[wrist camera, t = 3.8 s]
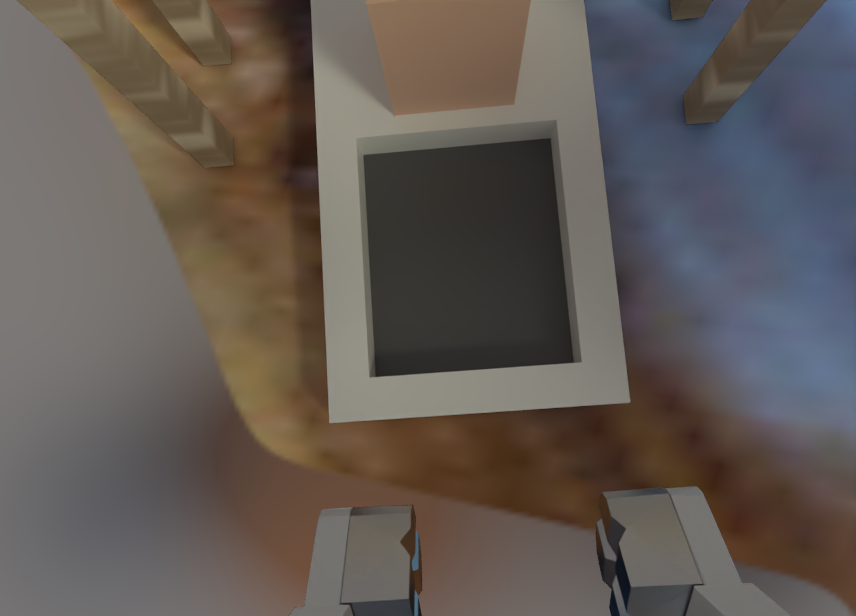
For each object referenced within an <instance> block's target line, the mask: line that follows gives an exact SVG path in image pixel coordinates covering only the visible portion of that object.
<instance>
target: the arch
mask: <svg viewBox="0 0 856 616" xmlns="http://www.w3.org/2000/svg"><path fill="white" fill-rule="evenodd" d="M17 1H18V2H20V3H21V4H22V5H23V6H24V7H25V8H26V9H27V10H29V11H30V12H31V13H32V14H33V15H34V16H35V17H36V18H37V19H39V20H40V21H41V22H42V23H43V24H44V25H45V26H46V27H48V28H49V29H50V30H51V31H52V32H53V33H54V34H55V35H57V36H58V37H59V38H60V39H61V40H62V41H63V42H64V43H66V44H67V45H68V46H69V47H70V48H71V49H72V50H73V51H75V52H76V53H77V54H78V55H79V56H80V57H81V58H82V59H84V60H85V61H86V62H87V63H88V64H89V65H90V66H91V67H92V68H94V69H95V70H96V71H97V72H98V73H99V74H100V75H101V76H103V77H104V78H105V79H106V80H107V81H108V82H109V83H110V84H112V85H113V86H114V87H115V88H116V89H117V90H118V91H119V92H121V93H122V94H123V95H124V96H125V97H126V98H127V99H128V100H130V101H131V102H132V103H133V104H134V105H135V106H136V107H137V108H139V109H140V110H141V111H142V112H143V113H144V114H145V115H146V116H148V117H149V118H150V119H151V120H152V121H153V122H154V123H155V124H157V125H158V126H159V127H160V128H161V129H162V130H163V131H164V132H166V133H167V134H168V135H169V136H170V137H171V138H172V139H173V140H175V141H176V142H177V143H178V144H179V145H180V146H181V147H182V148H184V149H185V150H186V151H187V152H188V153H189V154H190V155H191V156H193V157H194V158H195V159H196V160H197V161H198V162H199V163H200V164H202V165H203V166H204V167H205V168H209V167H220V166H231V165H234V152H233V137H232V136H231V135H230V133H229V132H228V131H227V130H226V129H225V128H224V127H223V126H222V124H221V123H220V122H219V121H218V120H217V119H216V118H215V117H214V115H213V114H212V113H211V112H210V111H209V110H208V109H207V108H206V106H205V105H204V104H203V103H202V102H201V101H200V100H199V99H198V97H197V96H196V95H195V94H194V93H193V92H192V91H191V90H190V88H189V87H188V86H187V85H186V84H185V83H184V82H183V81H182V79H181V78H180V77H179V76H178V75H177V74H176V73H175V72H174V70H173V69H172V68H171V67H170V66H169V65H168V64H167V63H166V61H165V60H164V59H163V58H162V57H161V56H160V55H159V54H158V52H157V51H156V50H155V49H154V48H153V47H152V46H151V45H150V43H149V42H148V41H147V40H146V39H145V38H144V37H143V36H142V34H141V33H140V32H139V31H138V30H137V29H136V28H135V27H134V25H133V24H132V23H131V22H130V21H129V20H128V19H127V18H126V16H125V15H124V14H123V13H122V12H121V11H120V10H119V9H118V7H117V6H116V5H115V4H114V3H113V2H112V1H111V0H17ZM152 1H153V3H154V4H155V5H156V7H157V8H158V9H159V10H160V12H161V13H162V14H163V15H164V17H165V18H166V19H167V20H168V22H169V23H170V24H171V26H172V27H173V28H174V29H175V31H176V32H177V33H178V34H179V36H180V37H181V38H182V40H183V41H184V42H185V43H186V45H187V46H188V47H189V48H190V50H191V51H192V52H193V53H194V55H195V56H196V57H197V59H198V60H199V61H200V62H201V64H202V65H203V66H212V65H222V64H231V37H230V35H229V34H228V32H227V31H226V29H225V28H224V26H223V25H222V23H221V21H220V20H219V18H218V17H217V15H216V14H215V12H214V11H213V9H212V8H211V6H210V5H209V3H208V1H207V0H152ZM669 1H670V8H671V16H672V20H680V19H691V18H701V17H703V15H704V14H705V12H706V10H707V9H708V7H709V5H710V4H711V2H712V1H713V0H669ZM825 2H826V0H751V1H750V2H749V3H748V5H747V6H746V8H745V9H744V10H743V12H742V13H741V15H740V16H739V17H738V19H737V20H736V22H735V23H734V25H733V26H732V27H731V29H730V30H729V32H728V33H727V34H726V36H725V37H724V39H723V40H722V41H721V43H720V44H719V46H718V47H717V48H716V50H715V51H714V53H713V54H712V56H711V57H710V58H709V60H708V61H707V63H706V64H705V65H704V67H703V68H702V70H701V71H700V72H699V74H698V75H697V77H696V78H695V79H694V81H693V82H692V84H691V85H690V87H689V88H688V89H687V91H686V92H685V94H684V95H683V103H684V110H685V117H686V124H698V123H709V122H718V121H719V119H720V118H721V117H722V116H723V115H724V114H725V113H726V112H727V111H728V109H729V108H730V107H731V106H732V105H733V104H734V103H735V102H736V101H737V99H738V98H739V97H740V96H741V95H742V94H743V93H744V92H745V91H746V89H747V88H748V87H749V86H750V85H751V84H752V83H753V82H754V81H755V79H756V78H757V77H758V76H759V75H760V74H761V73H762V72H763V71H764V69H765V68H766V67H767V66H768V65H769V64H770V63H771V62H772V60H773V59H774V58H775V57H776V56H777V55H778V54H779V53H780V52H781V50H782V49H783V48H784V47H785V46H786V45H787V44H788V43H789V42H790V40H791V39H792V38H793V37H794V36H795V35H796V34H797V33H798V32H799V30H800V29H801V28H802V27H803V26H804V25H805V24H806V23H807V22H808V20H809V19H810V18H811V17H812V16H813V15H814V14H815V13H816V12H817V10H818V9H819V8H820V7H821V6H822V5H823V4H824V3H825Z"/></svg>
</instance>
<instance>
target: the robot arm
mask: <svg viewBox="0 0 856 616" xmlns="http://www.w3.org/2000/svg"><path fill="white" fill-rule="evenodd" d="M598 506H599V510H600V514H601V519H600V520H599V521H598V522H597V524H596V547H597V555H598V561H599V566H600V571H601V575H602V579H603V581H604V582H605V583H606V584H607V585H608V586H609V587H610V588H611V589H612V591H611V598H610V606H609V608H610V613H611V616H791V615H790V614H788V613H787V612H786V611H785V610H784V609H783V608H781V607H780V606H779V605H777V603H775V602H774V601H773V600H772V599H771V598H769V597H768V596H767V595H766V594H765V593H764V592H762V591H761V590H760V589H759V588H758V587H756V586H755V585H754V584H753V583H742V581H741V579H740V577H739V574H738V572H737V570H736V568H735V565H734V563H733V561H732V558H731V556H730V554H729V551H728V549H727V547H726V545H725V542H724V540H723V538H722V535H721V533H720V531H719V529H718V526H717V524H716V522H715V519H714V517H713V515H712V512H711V510H710V508H709V506H708V503H707V501H706V499H705V496H704V494H703V492H702V491H701V490H700V489H699V488H698V487H696V486H688V487H677V488H665V489H663V488H649V489H636V490H623V491H610V492H602V493H601V495H600V498H599V505H598ZM421 562H422V561H421V548H420V539H419V533H418V532H416V516H415V512H414V507H413V505H397V506H374V507H348V508H331V509H322V511H321V514H320V516H319V518H318V523H317V530H316V535H315V542H314V548H313V555H312V560H311V567H310V573H309V579H308V585H307V592H306V598H305V604H304V607H303V606H302V607H295V608H294V609H293V610H292V612H291V613H290V614H289V616H422V614H421V609H420V603H419V598H418V595H419V594H420V593H421V591H422V563H421Z"/></svg>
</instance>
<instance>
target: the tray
mask: <svg viewBox="0 0 856 616" xmlns="http://www.w3.org/2000/svg"><path fill="white" fill-rule="evenodd" d="M311 20H312V42H313V65H314V87H315V110H316V132H317V155H318V177H319V200H320V222H321V245H322V267H323V290H324V312H325V335H326V357H327V380H328V402H329V423H341V422H355V421H370V420H384V419H399V418H414V417H428V416H443V415H458V414H472V413H487V412H501V411H516V410H531V409H545V408H560V407H574V406H589V405H604V404H618V403H630V395H629V386H628V377H627V369H626V360H625V351H624V343H623V334H622V325H621V317H620V308H619V299H618V291H617V282H616V273H615V265H614V256H613V248H612V239H611V230H610V222H609V213H608V204H607V196H606V187H605V178H604V170H603V161H602V152H601V144H600V135H599V126H598V118H597V109H596V100H595V92H594V83H593V74H592V66H591V57H590V48H589V40H588V31H587V22H586V14H585V5H584V0H531V2H530V8H529V15H528V21H527V27H526V33H525V40H524V46H523V52H522V58H521V65H520V71H519V77H518V83H517V90H516V96H515V102H514V105H504V106H493V107H482V108H471V109H461V110H450V111H439V112H428V113H418V114H407V115H396V116H395V115H394V112H393V108H392V104H391V100H390V96H389V92H388V88H387V84H386V80H385V76H384V72H383V68H382V64H381V60H380V56H379V52H378V48H377V44H376V40H375V37H374V33H373V29H372V25H371V21H370V17H369V13H368V9H367V5H366V0H311Z"/></svg>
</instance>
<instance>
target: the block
mask: <svg viewBox="0 0 856 616" xmlns="http://www.w3.org/2000/svg"><path fill="white" fill-rule="evenodd" d="M530 2H531V0H366V5H367V9H368V13H369V17H370V21H371V25H372V29H373V33H374V37H375V40H376V44H377V48H378V52H379V56H380V60H381V64H382V68H383V72H384V76H385V80H386V84H387V88H388V92H389V96H390V100H391V104H392V108H393V112H394V115H395V116H396V115H407V114H418V113H428V112H439V111H450V110H461V109H471V108H482V107H493V106H504V105H514V102H515V96H516V90H517V83H518V77H519V71H520V65H521V58H522V52H523V46H524V40H525V33H526V27H527V21H528V15H529V8H530Z"/></svg>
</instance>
